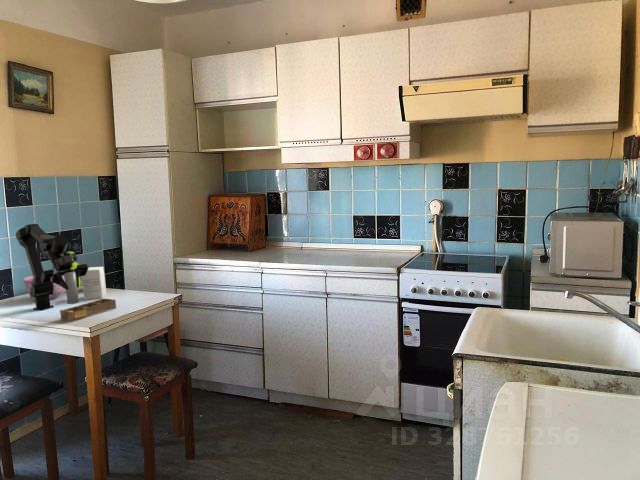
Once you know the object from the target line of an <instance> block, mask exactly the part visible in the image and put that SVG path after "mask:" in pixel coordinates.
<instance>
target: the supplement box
mask: <svg viewBox="0 0 640 480" xmlns="http://www.w3.org/2000/svg"><path fill="white" fill-rule="evenodd" d="M88 267H89V266H88ZM82 284H83V286H82V290H83V291H82V292H83V293H82V294H83V298H84V299H83V300H84V301H86V300H100V299H104V298H105V297H106V295H107V288H106V287H107V286H106V278H105V271H104V266H93V267H92V266H91V267H89V268H88V271H87V273H86V275H85V276H82V283H81V285H82Z"/></svg>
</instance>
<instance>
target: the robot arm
mask: <svg viewBox="0 0 640 480" xmlns="http://www.w3.org/2000/svg"><path fill="white" fill-rule="evenodd" d="M15 238H16V240H17V241H18V244H19V245H20V246H21V247H23V248H24V250H25V254H26V257H27V260H28V264H29V266H30V270H31V273H32V276H33V280H32V283H31V284H32V287H31V290H30V295H29V296H30V298H33V299H34V300H35V307H33V309H32V310H37V311H43V310H46V309H51V308H54V305H51V300H50V299H49V295H50V294H53V283H55V284H57V285H59V286H61V287H63V288H64V289H65V291H66V290H68V287H67V285H66V283H65V281H64V279H63V278H62V276H64V273H68V272H75V273H76V282H77V288H80V287H79V277H81V276H85V275H86V273H87V271H88V268H89V265H88V263H81V264H78V265H77V267H76V269H71V267H72V266H73V265H72V263H74V262H75V261H76V262H77V261H78V255H77V254H76V253H73V254H71V255H70V254H69V255H64V253H65V252H66V250H67V247H68V245H69V238H67V237H66V236H64V235H61V234H60V233H59V234H55V235H51V234H50V235H49V234H48V233H47V232H46V231H44V230H43V229H42V228H41V227H40V225H39V224H38V223H30V224H26V225H25V226H24V227H22V228H20V229H18V230H17V231H16V232H15ZM37 242H38V243H39V249H40V250H41V251H42V252H47V260H48V261H50V263H51V264H52V268H50V269H46V270H44V267H43V265H42V262H41V261H42V260H41V258H40V255H39V251H38V248H37ZM51 279H52V281H51Z"/></svg>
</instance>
